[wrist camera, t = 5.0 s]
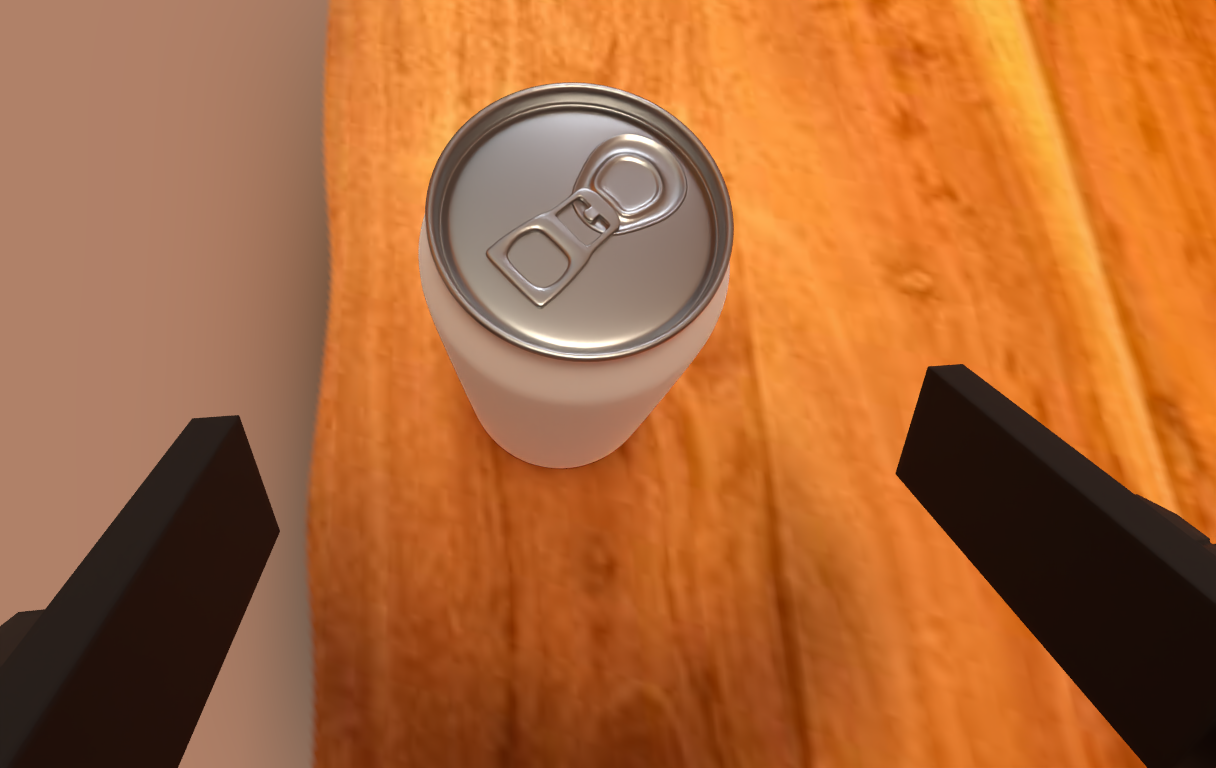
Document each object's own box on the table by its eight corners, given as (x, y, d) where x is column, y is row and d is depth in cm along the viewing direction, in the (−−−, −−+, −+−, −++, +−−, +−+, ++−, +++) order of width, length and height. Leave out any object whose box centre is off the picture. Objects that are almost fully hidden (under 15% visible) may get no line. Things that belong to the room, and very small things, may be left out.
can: (682, 385, 23) (826, 226, 12) (557, 509, 22) (580, 464, 10) (562, 267, 24) (585, 5, 12) (432, 378, 22) (320, 196, 11)
